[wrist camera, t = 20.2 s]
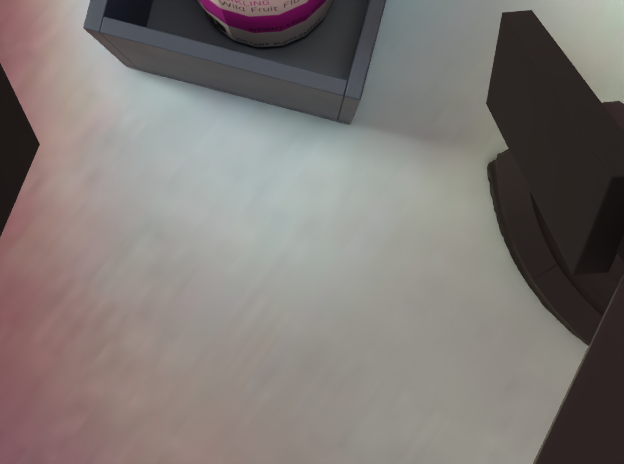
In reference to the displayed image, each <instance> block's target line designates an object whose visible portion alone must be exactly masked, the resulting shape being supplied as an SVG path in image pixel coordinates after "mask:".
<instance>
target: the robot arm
mask: <svg viewBox="0 0 624 464" xmlns="http://www.w3.org/2000/svg"><path fill="white" fill-rule="evenodd" d="M486 104H487V106H488V108H489V110H490V112H491V114H492V116H493V118H494V120H495V122H496V124H497V126H498V128H499V130H500V132H501V134H502V136H503V138H504V140H505V142H506V144H507V146H508V148H509V150H510V152H511V154H512V156H513V158H514V160H515V162H516V164H517V166H518V168H519V170H520V172H521V174H522V176H523V178H524V180H525V182H526V184H527V186H528V188H529V190H530V192H531V194H532V196H533V198H534V200H535V202H536V204H537V206H538V208H539V210H540V212H541V214H542V215H543V217H544V219H545V221H546V223H547V225H548V227H549V229H550V231H551V233H552V235H553V237H554V239H555V241H556V243H557V245H558V247H559V249H560V251H561V253H562V255H563V257H564V259H565V261H566V263H567V265H568V267H569V269H570V271H571V273H572V275H573V276H575V275H586V274H596V273H607V272H609V270H610V268H611V265H612V263H613V261H614V259H615V257H616V255H617V253H618V255H619V256H620V258H621V260H622V262H623V263H624V104H623V103H622V102H620V101H614V102H604V103H601V102H600V100H599V99H598V98H597V96H596V95H595V94H594V92H593V91H592V90H591V88H590V87H589V86H588V84H587V83H586V82H585V80H584V79H583V78H582V76H581V75H580V74H579V72H578V71H577V70H576V68H575V67H574V66H573V64H572V63H571V62H570V60H569V59H568V58H567V56H566V55H565V54H564V52H563V51H562V50H561V49H560V47H559V46H558V45H557V43H556V42H555V41H554V39H553V38H552V37H551V35H550V34H549V33H548V31H547V30H546V29H545V27H544V26H543V25H542V23H541V22H540V21H539V19H538V18H537V17H536V15H535V14H534V13H533V11H532V10H528V11H516V12H505V13H502V17H501V23H500V29H499V34H498V40H497V46H496V51H495V57H494V63H493V68H492V74H491V79H490V85H489V91H488V96H487V102H486ZM39 145H40V144H39V142H38V140H37V138H36V136H35V134H34V131H33V129H32V127H31V125H30V123H29V121H28V119H27V117H26V115H25V113H24V111H23V109H22V107H21V105H20V103H19V101H18V99H17V96H16V94H15V92H14V90H13V88H12V86H11V84H10V82H9V80H8V78H7V76H6V74H5V72H4V70H3V68H2V66H1V64H0V236H1V234H2V232H3V229H4V227H5V225H6V222H7V220H8V218H9V215H10V213H11V211H12V208H13V206H14V203H15V201H16V199H17V196H18V194H19V192H20V189H21V187H22V185H23V182H24V180H25V178H26V175H27V173H28V171H29V168H30V166H31V164H32V161H33V159H34V157H35V154H36V152H37V150H38V147H39ZM533 464H624V273H623V275H622V277H621V279H620V281H619V283H618V286H617V288H616V290H615V292H614V294H613V296H612V298H611V301H610V303H609V305H608V307H607V309H606V311H605V313H604V315H603V317H602V319H601V322H600V324H599V326H598V328H597V330H596V332H595V334H594V336H593V338H592V341H591V343H590V345H589V347H588V349H587V351H586V353H585V355H584V357H583V359H582V362H581V364H580V366H579V368H578V370H577V372H576V374H575V376H574V378H573V381H572V383H571V385H570V387H569V389H568V391H567V393H566V395H565V397H564V400H563V402H562V404H561V406H560V408H559V410H558V412H557V414H556V416H555V418H554V421H553V423H552V425H551V427H550V429H549V431H548V433H547V435H546V437H545V440H544V442H543V444H542V446H541V448H540V450H539V452H538V454H537V456H536V458H535V461H534V463H533Z"/></svg>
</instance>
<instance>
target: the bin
mask: <svg viewBox="0 0 624 464" xmlns="http://www.w3.org/2000/svg"><path fill="white" fill-rule="evenodd" d="M385 3H386V0H333V1H332V3H331V5H330V7H329V9H328V11H327V13H326V16H325V18H324V19H323V20H322V21H320V22H319V23H318V24H317V25H316V26H315V27H314V28H313V29H312V30H311V31H310V32H309V33H308V34H307V35H306V36H303V37H301V38H299V39H297V40H294V41H292V42H290V43H288V44H285V45H283V46H268V47H255V46H252V45H248V44H245V43H242V42H238V41H235V40H232V39H231V38H230V37H228V36H227V35H226V34H224V33H223V32H222V31H220V30H219V29H217V28H216V27H215V26H213V25H212V23H211V22H210V20H209V19H208V17H207V16H206V14H205V13H204V11H203V10H202V8H201V7H200V5H199V4H198V2H197V0H90V4H89V8H88V11H87V15H86V19H85V23H84V29H85V30H86V31H87V32H88V33H90V34H91V35H92V36H93V37H94V38H95V39H96V40H97V41H99V42H100V43H101V44H102V45H103V46H104V47H105V48H106V49H108V50H109V51H110V52H111V53H112V54H113V55H114V56H115V57H116V58H118V59H119V60H120V61H121V62H122V63H123V64H124V65H126V66H127V67H131V68H135V69H138V70H142V71H146V72H150V73H154V74H158V75H161V76H165V77H169V78H173V79H177V80H181V81H184V82H188V83H192V84H196V85H200V86H204V87H207V88H211V89H215V90H219V91H223V92H227V93H230V94H234V95H238V96H242V97H246V98H250V99H253V100H257V101H261V102H265V103H269V104H272V105H276V106H280V107H284V108H288V109H292V110H295V111H299V112H303V113H307V114H311V115H315V116H318V117H322V118H326V119H330V120H334V121H338V122H341V123H345V124H351V121H352V119H353V116H354V114H355V111H356V109H357V107H358V104H359V102H360V99H361V95H362V92H363V88H364V84H365V80H366V76H367V72H368V68H369V65H370V61H371V57H372V53H373V49H374V45H375V41H376V38H377V34H378V30H379V26H380V22H381V18H382V15H383V11H384V7H385Z"/></svg>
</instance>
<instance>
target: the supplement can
mask: <svg viewBox="0 0 624 464" xmlns="http://www.w3.org/2000/svg"><path fill="white" fill-rule="evenodd" d="M332 1H333V0H197V2H198V4H199V5H200V7H201V8H202V10H203V11H204V13H205V14H206V16H207V17H208V19H209V20H210V22H211V23H212V25H213V26H215V27H216V28H217V29H219V30H220V31H222V32H223V33H224V34H226V35H227V36H228V37H230V38H231V39H232V40H235V41H238V42H242V43H245V44H248V45H252V46H255V47H268V46H283V45H285V44H288V43H290V42H292V41H294V40H297V39H299V38H301V37H303V36H306V35H307V34H308V33H309V32H310V31H311V30H312V29H313V28H314V27H315V26H316V25H317V24H318V23H319V22H320V21H322V20H323V19H324V18H325V16H326V13H327V11H328V9H329V7H330V5H331V3H332Z"/></svg>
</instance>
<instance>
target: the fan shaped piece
mask: <svg viewBox="0 0 624 464" xmlns="http://www.w3.org/2000/svg"><path fill="white" fill-rule="evenodd" d="M487 170H488V180H489V182H490V192H491V196H492V199H493V205H494V210H495V212H496V215H497V221H498V224H499V228H500V231H501V234H502V236H503V237H504V241H505V243H506V245H507V247H508V249H509V252H510V255H511V257H512V259H513V261H514V262H515V264H516V265H517V268H518V270H519V271H520V273H521V274H522V276H523V277H524V279H525V281H526V282H527V284H528V285H529V287H530V288H531V289H532V290H533V292H534V293H535V294H536V296H537V297H538V298H539V299H540V301H541V303H542V304H543V305H544V306H545V307H546V308H547V309H548V310H549V311H550V312H551V313H552V314H553V315H554V316H555V317H556V318H557V319H558V320H559V321H560V322H561V323H562V324H563V325H564V326H565V327H566V328H567V329H568V330H569V331H570V332H571V333H572V334H574V335H575V336H576V337H578V338H579V339H580V340H582V341H583V342H584V343H586V344H587V345H590V343H591V341H592V338H593V336H594V334H595V332H596V330H597V328H598V326H599V324H600V322H601V319H602V317H603V315H604V313H605V311H606V309H607V307H608V305H609V303H610V301H611V298H612V296H613V294H614V292H615V290H616V288H617V286H618V283H619V281H620V279H621V277H622V275H623V273H624V263H623V262H622V260H621V258H620V256H619V255H618V253H617V255H616V257H615V259H614V261H613V263H612V265H611V268H610V270H609V272H607V273H596V274H586V275H575V276H573V275H572V273H571V271H570V269H569V267H568V265H567V263H566V261H565V259H564V257H563V255H562V253H561V251H560V249H559V247H558V245H557V243H556V241H555V239H554V237H553V235H552V233H551V231H550V229H549V227H548V225H547V223H546V221H545V219H544V217H543V215H542V214H541V212H540V210H539V208H538V206H537V204H536V202H535V200H534V198H533V196H532V194H531V192H530V190H529V188H528V186H527V184H526V182H525V180H524V178H523V176H522V174H521V172H520V170H519V168H518V166H517V164H516V162H515V160H514V158H513V156H512V154H511V152H510V150H509V149H507V150H505V151H504V152H502V153H499V154H498V155H497V158H496V160H493V161H492V162H490V163H489V164H488V167H487Z"/></svg>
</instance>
